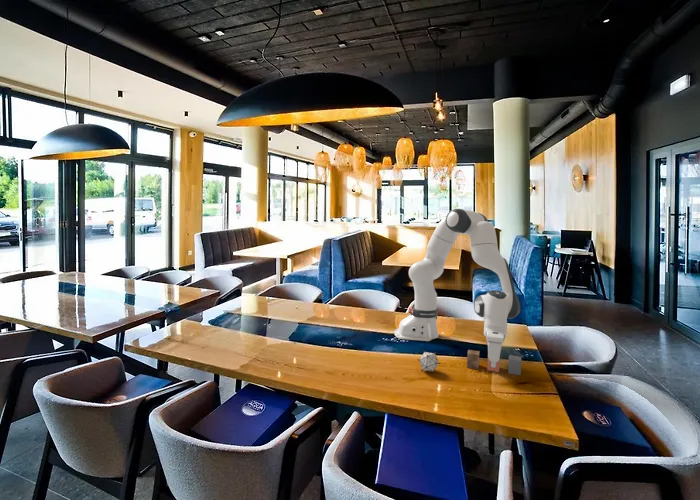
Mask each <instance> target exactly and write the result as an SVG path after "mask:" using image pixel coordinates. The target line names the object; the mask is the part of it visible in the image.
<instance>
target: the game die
mask: <svg viewBox="0 0 700 500" xmlns="http://www.w3.org/2000/svg"><path fill="white" fill-rule="evenodd" d="M436 354H437V352H435V353H434V352H433V353H432V352H429V351H428V352H427V351H425V350H424V349H423V353H422V354H421V357H420V358H419V359H418V358H417V361H418V362H419V364H420V367H421V370H420V372H423V371H426V372H427V371H428V372H432V374H435V370H436V368H438V365H441V364H442V363H441V362H439V360H438V357H437V355H436Z"/></svg>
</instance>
